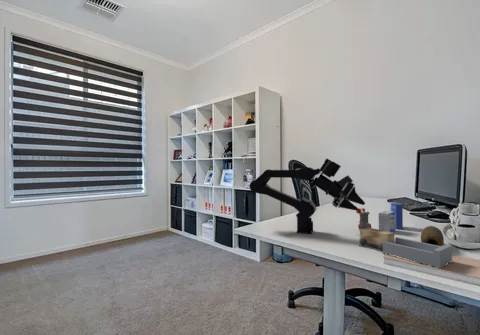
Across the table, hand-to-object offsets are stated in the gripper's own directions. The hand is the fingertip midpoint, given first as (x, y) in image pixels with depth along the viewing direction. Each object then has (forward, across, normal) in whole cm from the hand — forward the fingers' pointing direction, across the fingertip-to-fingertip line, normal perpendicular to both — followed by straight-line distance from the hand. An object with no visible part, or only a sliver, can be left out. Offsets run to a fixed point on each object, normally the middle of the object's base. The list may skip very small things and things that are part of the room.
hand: (361, 207), depth 105 cm
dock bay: (+16, -13, +12) cm, 24 cm away
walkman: (+20, +23, -10) cm, 33 cm away
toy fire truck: (+8, +16, +3) cm, 18 cm away
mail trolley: (+11, -8, +13) cm, 19 cm away
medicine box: (+16, +16, -3) cm, 23 cm away
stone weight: (+26, -4, 0) cm, 27 cm away
